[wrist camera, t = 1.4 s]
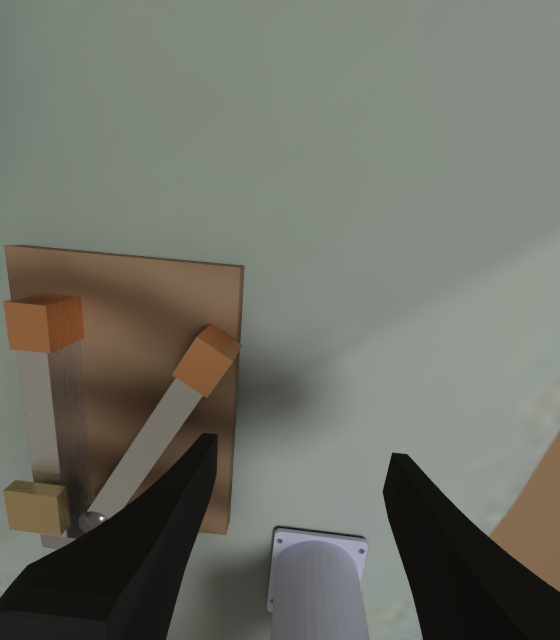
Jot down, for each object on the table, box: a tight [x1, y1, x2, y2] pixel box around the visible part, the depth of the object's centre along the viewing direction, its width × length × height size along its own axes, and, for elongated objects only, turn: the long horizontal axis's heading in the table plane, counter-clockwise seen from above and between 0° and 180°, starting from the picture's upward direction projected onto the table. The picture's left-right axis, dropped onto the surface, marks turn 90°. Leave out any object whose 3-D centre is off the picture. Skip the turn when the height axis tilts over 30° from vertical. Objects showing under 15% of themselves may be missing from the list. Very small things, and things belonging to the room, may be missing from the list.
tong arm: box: [79, 324, 242, 534], centre depth 22 cm, size 18×3×3 cm, turn 145°
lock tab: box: [3, 480, 70, 536], centre depth 21 cm, size 3×4×1 cm
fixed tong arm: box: [3, 293, 93, 549], centre depth 22 cm, size 19×7×3 cm, turn 175°
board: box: [4, 245, 244, 535], centre depth 24 cm, size 22×16×2 cm
